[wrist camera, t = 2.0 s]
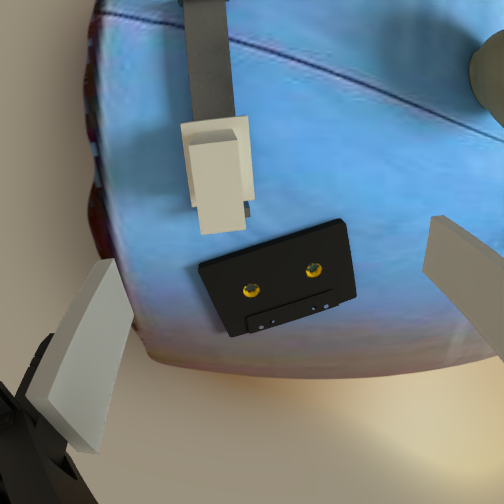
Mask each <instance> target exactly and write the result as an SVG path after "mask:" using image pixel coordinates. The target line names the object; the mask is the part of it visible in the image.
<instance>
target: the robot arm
mask: <svg viewBox="0 0 504 504" xmlns="http://www.w3.org/2000/svg"><path fill="white" fill-rule="evenodd" d="M422 272H423V273H424V274H425V275H426V276H427V277H428V278H429V279H430V280H431V281H432V282H433V283H434V284H435V285H436V286H437V287H438V288H439V289H440V290H441V291H442V292H443V293H444V294H445V295H446V296H447V297H448V298H449V300H450V301H451V302H452V303H453V304H454V305H455V306H456V307H457V308H458V309H459V310H460V311H461V313H462V314H463V315H464V316H465V317H466V318H467V319H468V320H469V322H470V323H471V324H472V325H473V326H474V327H475V328H476V330H477V331H478V332H479V333H480V334H481V335H482V337H483V338H484V339H485V340H486V341H487V343H488V344H489V345H490V346H491V347H492V349H493V350H494V351H495V352H496V354H497V355H498V356H499V357H500V359H501V360H502V361H503V362H504V258H503V257H502V256H501V255H499V254H498V253H497V252H495V251H494V250H493V249H491V248H490V247H489V246H487V245H486V244H485V243H483V242H482V241H480V240H479V239H478V238H476V237H475V236H473V235H472V234H471V233H469V232H468V231H466V230H465V229H463V228H462V227H461V226H459V225H458V224H456V223H455V222H453V221H452V220H450V219H449V218H447V217H446V216H444V215H442V216H433V217H431V222H430V229H429V236H428V242H427V248H426V254H425V259H424V264H423V269H422ZM133 317H134V314H133V311H132V308H131V306H130V303H129V300H128V298H127V295H126V292H125V289H124V287H123V284H122V281H121V278H120V275H119V272H118V269H117V266H116V263H115V260H114V258H112V259H106V260H99V261H97V262H96V263H95V265H94V266H93V268H92V270H91V271H90V273H89V274H88V276H87V278H86V279H85V281H84V283H83V284H82V286H81V287H80V289H79V291H78V293H77V294H76V296H75V298H74V299H73V301H72V303H71V305H70V306H69V308H68V310H67V312H66V314H65V315H64V317H63V319H62V321H61V322H60V325H59V326H58V328H57V330H56V332H55V333H50V334H49V335H48V336H47V337H46V338H45V339H44V340H43V341H42V342H41V344H40V345H39V347H38V349H37V351H36V353H35V358H34V357H33V359H32V361H31V363H30V367H28V369H27V371H26V373H25V375H24V377H23V379H22V382H21V384H20V386H19V388H18V390H17V392H16V395H15V397H13V395H12V394H11V393H10V392H9V391H8V389H7V388H6V387H5V385H4V384H3V383H2V382H1V381H0V504H98V502H97V501H96V499H95V498H94V496H93V495H92V493H91V491H90V490H89V488H88V487H87V485H86V483H85V482H84V480H83V478H82V477H81V475H80V473H79V471H78V470H77V468H76V466H75V464H74V463H73V460H72V459H71V457H70V456H69V454H68V453H67V452H66V447H67V443H69V444H70V445H71V446H72V447H73V448H74V449H75V450H76V451H78V452H83V453H91V454H99V452H100V447H101V442H102V437H103V432H104V427H105V422H106V418H107V413H108V409H109V405H110V400H111V396H112V392H113V388H114V383H115V380H116V376H117V372H118V368H119V365H120V361H121V357H122V354H123V350H124V346H125V343H126V340H127V336H128V333H129V329H130V326H131V323H132V320H133Z"/></svg>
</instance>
